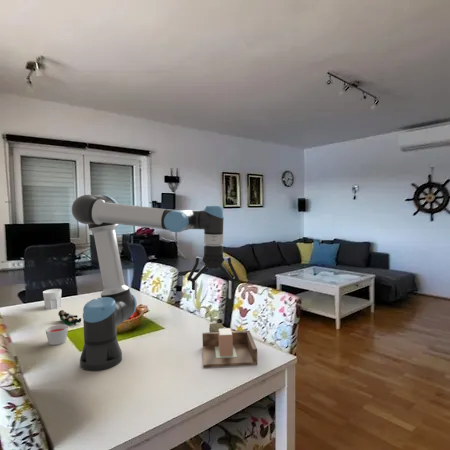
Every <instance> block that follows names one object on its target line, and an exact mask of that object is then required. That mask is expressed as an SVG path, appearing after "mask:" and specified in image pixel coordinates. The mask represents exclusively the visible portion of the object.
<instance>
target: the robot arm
mask: <svg viewBox="0 0 450 450" xmlns="http://www.w3.org/2000/svg"><path fill="white" fill-rule="evenodd" d="M71 214H72V216H73V218H74V219H75V220H76V221H77V222H78V223H81V224H83V225H88V231H90V232H92V233H93V238H94V242H95V248H96V253H97V254H96V255H97V261H98V265H99V270H100V276H101V280H102V281H101V282H102V287H103V290H102V291H101V293H100V297H97V298H94V299H91V300H89V301H87V302H86V303H85V304H84V306H83V310H82V320H83V323H82V324H83V340H84V341H83V343H84V344H83V347H82V351H81V353H80V358H79V366H80V368H81V369H82V370H84V371H92V372H93V371H94V372H95V371H96V372H97V371H103V370H107V369H110V368H112V367H114V366H116V365H118V364H120V362H121V361H122V360H123V353H122V349H121V346H120V345H119V341H118V338H117V337H118V336H117V327H118V326H119V325H120V324H123V323H124V322H125V321H127V320H129V319H130V318H131V317H132V316H133V315H134V313H135V312H136V310H137V305H138V303H137V298H136V296H135V295H134V294H132V292H131V291H130V287H129V286H127V285H126V283H125V277H124V273H123V267H122V261H121V256H120V251H119V244H118V239H117V234H116V233H117V232H116V228H117V227H118V226H119V225H122V226H132V227H138V228H140V227H141V228H149V229H155V230H156V229H157V230H165V231H168V232H171V233H181V232H184V231H188V230H203V231H204V232H203V244H204V246H203V257H200V256H196V257H195V262H194V264H193V267H191V270H190V272H189V274H188V276H187V279H186V280H187V281H189V282H191V290H192V291H194V300H197V295H198V293H197V292H198V287H197V286H198V281H197V280H198V279H199V277H200V276H201V275H202V274H203V273H204V272H205V271H206V269H210V270H211V269H216V270H217V269H219V268H220V270H221V271H222V272H223V273H224V274H225V275H226V277H227V278H228V279H229V280H228V299H229V300H231V299H232V291H233V290H235V282H237V281H239V280H240V278H239V277H238V274H237V272H236V270H235V268H234V266H233V264H232V258H231V257H230V256H227V257H224V246H223V244H224V221H225V220H224V217H225V216H224V208H223V206H221V205H205V206H204V207H203V210H202V209H201V210H197V209H196V210H195V209H193V210H192V209H179V210H178V209H167V208H159V207H150V206H141V205H130V204H122V203H119V202H117V201H116V199H114V198H113V197H111V196H108V195H103V194H101V195H99V194H84V195H80V196H78V197H77V198H76V199H74V201H73V202H72V205H71ZM224 261H225V263H226V264H227V265H228V266H229V268H230V271H231V272H232V274H233V276H234V277H233V276H232V275H231V274H230V273H229V271H228V270H227V269H226V268H225V266H224V265H223V263H224ZM201 262H203V263H204V264H203V266H202V267H201V268H200V269H199V271H198V272H196V270H197V267H198V265H199V264H201ZM195 272H196V274H195V275H194V273H195ZM193 275H194V276H193Z"/></svg>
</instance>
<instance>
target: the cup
mask: <svg viewBox="0 0 450 450" xmlns="http://www.w3.org/2000/svg"><path fill="white" fill-rule="evenodd" d="M42 295H43V296H42V297H43V301H44V308H45V309H46V310H55V309H58V308H60V307H62V289H61V288H51V289H46V290H44V291H42Z"/></svg>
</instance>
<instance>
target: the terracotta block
mask: <svg viewBox="0 0 450 450" xmlns="http://www.w3.org/2000/svg"><path fill="white" fill-rule="evenodd" d="M218 330H219V353H220V356H233V335H232V328H230V327H228V328H227V327H226V328H225V327H224V328H223V329H218Z"/></svg>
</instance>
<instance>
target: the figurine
mask: <svg viewBox="0 0 450 450" xmlns="http://www.w3.org/2000/svg"><path fill="white" fill-rule="evenodd" d="M58 316H59V319H60V321H61V322H63V325H68V327H69V326H73V325H76V324H78V323H79V324H81V321H82V317H79V318H78V315H74V314H71V313H68V312H66V311H65V310H61V309H60V310H59V311H58Z"/></svg>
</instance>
